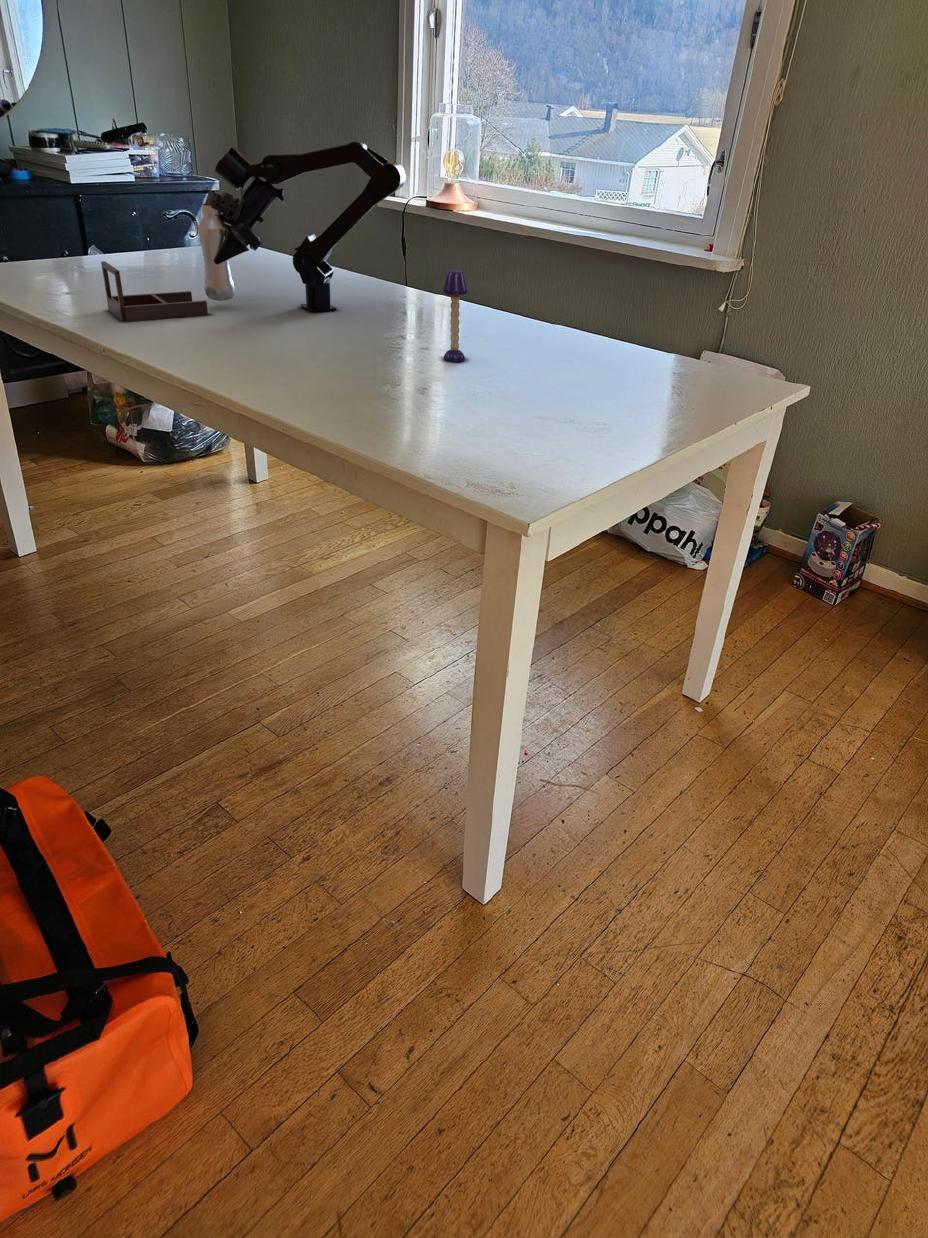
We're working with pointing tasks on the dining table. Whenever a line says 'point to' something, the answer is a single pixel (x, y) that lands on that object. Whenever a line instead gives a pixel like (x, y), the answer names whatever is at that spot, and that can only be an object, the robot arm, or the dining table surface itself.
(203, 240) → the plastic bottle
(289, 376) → the dining table surface
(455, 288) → the toy lamp
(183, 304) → the wooden divided caddy
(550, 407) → the dining table surface
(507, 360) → the dining table surface
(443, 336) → the dining table surface
